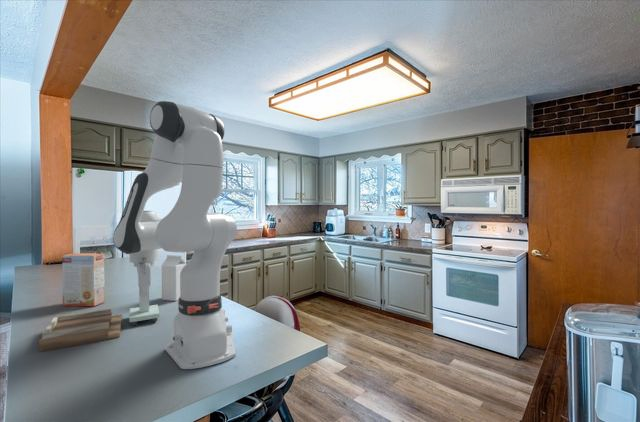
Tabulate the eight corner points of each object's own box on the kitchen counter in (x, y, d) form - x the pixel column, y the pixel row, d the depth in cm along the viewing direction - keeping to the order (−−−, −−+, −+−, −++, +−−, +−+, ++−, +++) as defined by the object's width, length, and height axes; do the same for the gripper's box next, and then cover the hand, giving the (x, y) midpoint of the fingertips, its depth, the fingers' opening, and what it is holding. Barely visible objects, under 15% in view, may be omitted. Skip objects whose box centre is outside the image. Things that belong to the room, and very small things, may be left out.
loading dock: (119, 337, 96) (119, 322, 96) (38, 351, 86) (38, 335, 86) (121, 318, 111) (121, 306, 111) (53, 329, 102) (53, 315, 102)
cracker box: (105, 302, 130) (105, 253, 129) (93, 307, 124) (93, 255, 123) (75, 301, 131) (74, 252, 131) (61, 306, 125) (61, 254, 125)
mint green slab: (159, 322, 108) (159, 285, 108) (129, 327, 104) (129, 288, 103) (157, 312, 118) (157, 278, 117) (129, 316, 113) (129, 281, 113)
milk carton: (176, 301, 132) (175, 257, 131) (161, 300, 133) (161, 256, 133) (186, 296, 139) (186, 254, 138) (172, 295, 140) (172, 253, 140)
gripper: (155, 259, 103) (155, 300, 103) (152, 251, 121) (152, 286, 121) (133, 261, 100) (133, 303, 100) (133, 252, 117) (134, 288, 118)
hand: (144, 294), depth 111 cm, fingers closed on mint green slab, 3 cm apart
